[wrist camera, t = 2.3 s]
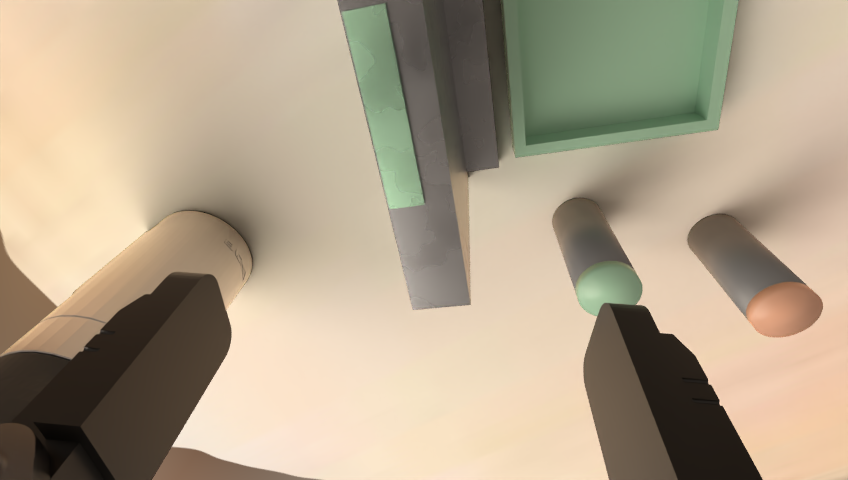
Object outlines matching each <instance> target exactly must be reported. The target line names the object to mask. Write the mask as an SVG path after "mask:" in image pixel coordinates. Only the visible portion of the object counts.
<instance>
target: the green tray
mask: <svg viewBox="0 0 848 480" xmlns="http://www.w3.org/2000/svg"><path fill="white" fill-rule="evenodd" d="M738 1H739V0H501V11H502V24H503V36H504V49H505V61H506V74H507V86H508V98H509V111H510V123H511V136H512V147H513V150H514V154H515V158H517V157H524V156H532V155H539V154H546V153H553V152H561V151H568V150H575V149H582V148H590V147H597V146H604V145H611V144H619V143H626V142H633V141H640V140H648V139H655V138H662V137H669V136H677V135H684V134H691V133H698V132H706V131H713V130H718V128H719V121H720V115H721V109H722V102H723V96H724V90H725V83H726V77H727V71H728V64H729V58H730V52H731V45H732V39H733V33H734V26H735V20H736V14H737V8H738Z"/></svg>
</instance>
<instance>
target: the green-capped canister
mask: <svg viewBox="0 0 848 480" xmlns="http://www.w3.org/2000/svg"><path fill="white" fill-rule="evenodd" d="M552 224H553V228H554V231H555V234H556V237H557V240H558V243H559V245H560V248H561V251H562V254H563V257H564V260H565V263H566V266H567V269H568V272H569V275H570V277H571V280H572V283H573V286H574V289H575V292H576V295H577V298H578V301H579V303H580V305H581V307H582V308H583V309H584V310H585V311H586V312H588V313H590V314H592V315H595V316H598V313H599V310H600V308H601V306H602V305H603V304H604V303H615V304H629V305H636V304H637V302H638V301H639V299H640V297H641V295H642V283H641V281H640V279H639V277H638V275H637V274H636V272H635V270H634V268H633V267H632V265H631V263H630V261H629V259H628V258H627V256H626V254H625V252H624V251H623V249H622V247H621V245H620V243H619V242H618V240H617V238H616V236H615V235H614V233H613V231H612V229H611V228H610V226H609V224H608V222H607V220H606V219H605V217H604V215H603V213H602V212H601V210H600V208H599V206H598V205H597V204H596V203H595V202H593V201H591V200H589V199H585V198H575V199H571V200H568V201H566V202H564V203H563V204H561V205H560V206H559V207H558V208H557V210H556V211H555V213H554V215H553V219H552Z"/></svg>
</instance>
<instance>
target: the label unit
mask: <svg viewBox="0 0 848 480" xmlns="http://www.w3.org/2000/svg"><path fill="white" fill-rule="evenodd" d="M337 1H338V5H339V9H340V13H341V17H342V21H343V25H344V29H345V33H346V38H347V42H348V46H349V50H350V54H351V58H352V62H353V66H354V70H355V74H356V79H357V83H358V87H359V91H360V95H361V99H362V103H363V107H364V111H365V115H366V120H367V124H368V128H369V132H370V136H371V140H372V144H373V148H374V152H375V156H376V161H377V165H378V169H379V173H380V177H381V181H382V185H383V189H384V193H385V197H386V202H387V206H388V210H389V214H390V218H391V222H392V226H393V230H394V234H395V238H396V243H397V247H398V251H399V255H400V259H401V263H402V267H403V271H404V275H405V279H406V284H407V288H408V292H409V296H410V300H411V304H412V308H413V310H417V309H428V308H440V307H451V306H462V305H471V297H470V243H469V189H468V173H467V172H469V171H476V170H484V169H491V168H499V162H498V152H497V142H496V132H495V122H494V112H493V102H492V91H491V81H490V71H489V61H488V51H487V41H486V30H485V20H484V10H483V0H337Z"/></svg>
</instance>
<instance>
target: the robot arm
mask: <svg viewBox="0 0 848 480" xmlns="http://www.w3.org/2000/svg"><path fill="white" fill-rule="evenodd" d="M251 270H252V257H251V254H250V251H249V248H248V246H247V245H246V243H245V241H244V240H243V238H242V237H241V236H240V235H239V234H238V232H237V231H236V230H234V229H233V228H232V227H231V226H230V225H229V224H227V223H225V222H224V221H222V220H221V219H219V218H217V217H214V216H212V215H210V214H207V213H202V212H198V211H181V212H176V213H173V214H171V215H168V216H167V217H166V218H165V219H163V220H162V221H161V222H160V223H158V224H157V225H156V226H155V227H154V228H152V229H151V230H150V231H146V232H145V233H144V234H143V235H142V236H140V237H139V238H138V239H137V240H136V241H134V242H133V243H132V244H131V245H129V246H128V247H127V248H126V249H125V250H123V251H122V252H121V253H120V254H119V255H117V256H116V257H115V258H114V259H113V260H111V261H110V262H109V263H108V264H107V265H105V266H104V267H103V268H102V269H101V270H99V271H98V272H97V273H96V274H95V275H93V276H92V277H91V278H90V279H88V280H87V281H86V282H85V283H84V284H82V285H81V286H80V287H79V288H78V289H76V290H75V291H74V292H73V294H72V296H71V297H69V298H68V299H67V300H66V301H65V302H63V303H62V304H61V305H60V306H59V307H57V308H56V309H55V310H54V311H53V312H51V313H50V314H49V315H48V316H47V317H45V318H44V319H43V320H42V321H41V322H39V323H38V324H37V325H36V326H35V327H34V328H33V329H31V330H30V331H29V332H28V333H27V334H25V335H24V336H23V337H22V338H21V339H19V340H18V341H17V342H16V343H15V344H13V345H12V346H11V347H10V348H9V349H7V350H6V351H5V352H4V353H3V354H1V355H0V480H152V478H153V477H154V475H155V474H156V472H157V470H158V469H159V467H160V465H161V464H162V462H163V460H164V459H165V457H166V455H167V454H168V452H169V450H170V449H171V447H172V445H173V444H174V442H175V440H176V439H177V437H178V435H179V434H180V432H181V430H182V429H183V427H184V425H185V424H186V422H187V420H188V419H189V417H190V415H191V414H192V412H193V410H194V409H195V407H196V405H197V404H198V402H199V400H200V399H201V397H202V395H203V394H204V392H205V390H206V389H207V387H208V385H209V384H210V382H211V380H212V379H213V377H214V375H215V374H216V372H217V370H218V369H219V367H220V365H221V363H222V362H223V360H224V358H225V357H226V355H227V353H228V350H229V347H230V343H231V325H230V322H229V319H228V315H227V312H226V310H227V309H228V307H229V306H230V304H231V303H232V301H233V300H234V299H235V297H236V296H237V294H238V293H239V291H240V290H241V289H242V287H243V286H244V284H245V283H246V281H247V280H248V278H249V276H250V274H251ZM583 372H584V383H585V388H586V392H587V395H588V399H589V403H590V407H591V411H592V415H593V419H594V422H595V426H596V430H597V434H598V438H599V442H600V446H601V450H602V453H603V457H604V461H605V465H606V469H607V473H608V477H609V480H763V479H762V477H761V476H760V474H759V472H758V470H757V468H756V466H755V465H754V463H753V461H752V459H751V457H750V455H749V454H748V452H747V450H746V448H745V446H744V444H743V443H742V441H741V439H740V437H739V435H738V433H737V432H736V430H735V428H734V426H733V424H732V422H731V421H730V419H729V417H728V415H727V413H726V411H725V410H724V408H723V406H720V405H719V401H720V400H719V399H718V397H717V395H716V393H715V391H714V389H713V388H712V386H711V385H709V384H708V378H707V377H706V375H705V373H704V371H703V369H702V367H701V366H700V364H699V362H698V360H697V358H696V357H695V355H694V354H693V353H692V352H691V351H690V350H689V349H688V348H687V347H685V346H684V345H683V344H682V343H681V342H680V341H679V340H678V339H677V338H676V337H675V336H674V335H673V334H663V333H660V332H659V330H658V328H657V326H656V324H655V322H654V320H653V318H652V316H651V314H650V312H649V310H648V309H647V308H646V307H645V306H642V305H629V304H615V303H604V304H603V305H602V306H601V308H600V310H599V313H598V316H597V319H596V322H595V326H594V329H593V332H592V335H591V338H590V341H589V344H588V347H587V351H586V354H585V358H584V371H583Z"/></svg>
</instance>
